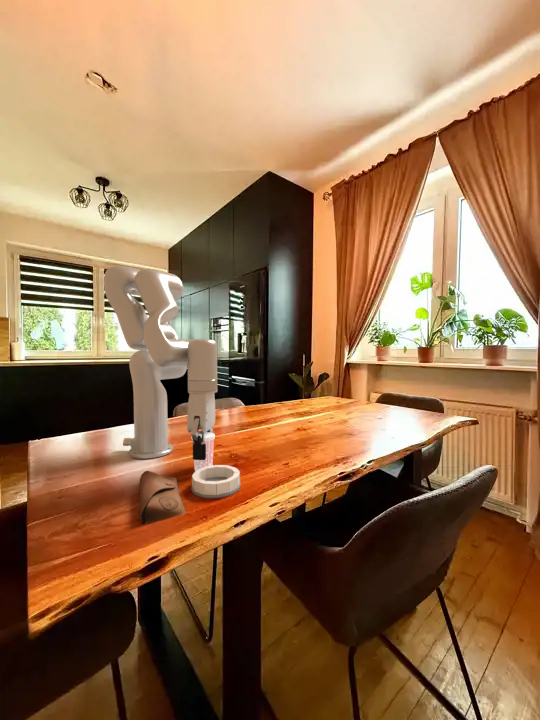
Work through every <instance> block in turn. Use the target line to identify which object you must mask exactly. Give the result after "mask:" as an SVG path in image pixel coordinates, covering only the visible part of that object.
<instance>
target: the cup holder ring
mask: <svg viewBox="0 0 540 720" xmlns="http://www.w3.org/2000/svg"><path fill="white" fill-rule="evenodd" d="M191 483H192V484H191V493H192V494H193V495H195V496H197V497H200V498H202V499H221V498H226V497H230V496H232V495H233V494H235V493H237V492H238V491H239V490H240V488H241V471H240V470H239V469H238V468H237V467H235V466H231V465H227V464H213V466H207V467H203V468H201V469H199V470H196V471H195V470H194V472H193V474H192V475H191Z"/></svg>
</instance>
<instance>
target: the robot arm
mask: <svg viewBox="0 0 540 720" xmlns="http://www.w3.org/2000/svg"><path fill="white" fill-rule="evenodd" d="M103 289H104V293H105V296H106V299H107V301H108V303H109V305H110V306H111V308H112V309H113V311H114V313H115V315H116V317H117V320H118V323H119V326H120V328H121V331H122V335H123V337H124V340H125V342H126V344H127V345H128V347H129V348H130V349H132V350H137V351H135V352H134V353H132V355H131V356H130V358H129V363H128V365H129V371H130V375H131V382H132V391H133V421H134V422H133V426H134V430H133V431H134V434H133V435H134V437H133V438H132V437H124V438H123V440H122V446H123V447H129V446H130V449H129V450H128V455H129V457H131V458H135V459H147V460H148V459H154V458H160V457H163V456H166V455H168V454H171V453H172V452H173V451H174V445H173V444H172V443H169V442H168V441H169V435H168V433H169V432H168V394H167V390H166V388H165V387H164V385H163V383H162V382H161V380H170V379H171V380H172V379H179V378H181V377H184V375H185V374H186V372H187V393H188V394H189V397H188V403H187V421H186V423H187V426H186V429H187V433H188V434H189V433H190V435H191V436H192V438H191V440H192V439H193V440H192V442H191V443H192V459H193V461H194V460H205V459H206V444H204V442H205V433H206V432H211V433H214V429H213V428H214V426H215V424H216V400H215V399H216V398H215V396H216V395H215V394H216V393H218V345H217V344H218V343H217V342H216V341H215V340H214V339H209V338H207V339H206V338H199V339H197V338H196V339H195V338H194V339H184V338H179V337H178V334H177V332H176V331H175V329H174V328H173V327H172V326H171V325H170V324H169V322H171V321H173V320H174V319H175V318H176V317H177V316H178V314H179V311H180V310H179V306H178V304H177V302H176V301H178V300H179V299H181V297H182V296H183V293H184V286H183V281H182V280H181V279H180V277H178V276H177V275H176V274H174V273H170V272H166V271H162V270H158V269H154V268H143V269H139V268H135V267H131V266H125V265H114V266H110V267H108V269H107V270H106V271H105V272H104V276H103ZM134 296H138V297H140V299H141V301H142V304H143V305H144V306H143V305H142V304H141V303H140V302H139V301H138V300H137V299H136V298H135V297H134ZM144 307H145V308H144ZM145 310H146V311H145ZM146 312H147V313H146ZM147 314H148V315H147ZM202 429H203V430H202ZM199 430H200V431H199ZM199 434H202V439H201V436H199Z"/></svg>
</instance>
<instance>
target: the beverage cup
mask: <svg viewBox="0 0 540 720" xmlns="http://www.w3.org/2000/svg"><path fill="white" fill-rule="evenodd" d="M202 430H203V429H201V431H202ZM199 436H201V439H202V434H199ZM215 438H216V434H215V432H213V433H211V432H206V433H205V442H204V444H206V459H205V460H194V459H193V464H194V465H193V466H194V472H195V471H196V470H199V469H201V468H203V467H207V466H213V465H214V464H213V461H214V447H215V446H214V445H215V442H214V441H215ZM191 440H192V441H193V439H192V436H191Z"/></svg>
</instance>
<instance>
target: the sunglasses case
mask: <svg viewBox="0 0 540 720" xmlns="http://www.w3.org/2000/svg"><path fill="white" fill-rule="evenodd" d="M178 484H179V483H178V478H176V477H174V476H167V475H162V474H158V473H156V472H154V471H150V470H145V471H143V472H142V474H140V478H139V513H140V514H139V516H140V521H141V522H142V523H143V524H144V525H145V524H149V523H154V522H158V521H162V520H167V519H172V518H174V517H178V516H184V515H186V514H187V510H186V507H185V505H184V502H183V499H182V496H181V492H180V490H179V485H178Z"/></svg>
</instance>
